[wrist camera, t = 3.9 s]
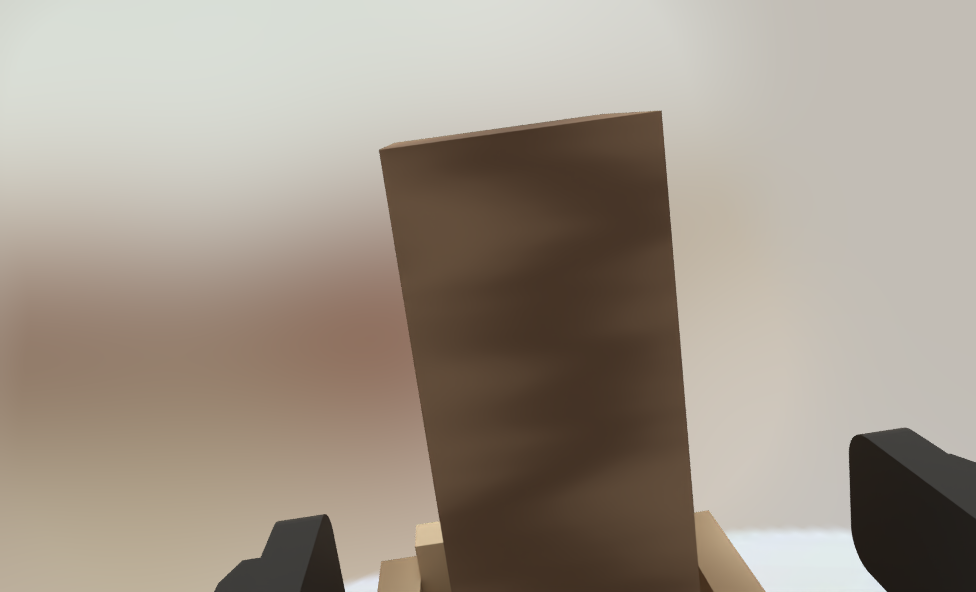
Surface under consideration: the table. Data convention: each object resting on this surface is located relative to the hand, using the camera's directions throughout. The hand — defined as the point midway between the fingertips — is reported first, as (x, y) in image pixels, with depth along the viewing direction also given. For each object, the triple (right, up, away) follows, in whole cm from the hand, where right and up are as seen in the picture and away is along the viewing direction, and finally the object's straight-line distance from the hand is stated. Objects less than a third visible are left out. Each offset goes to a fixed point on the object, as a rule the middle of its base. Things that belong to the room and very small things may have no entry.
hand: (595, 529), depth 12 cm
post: (+1, -7, +7) cm, 10 cm away
